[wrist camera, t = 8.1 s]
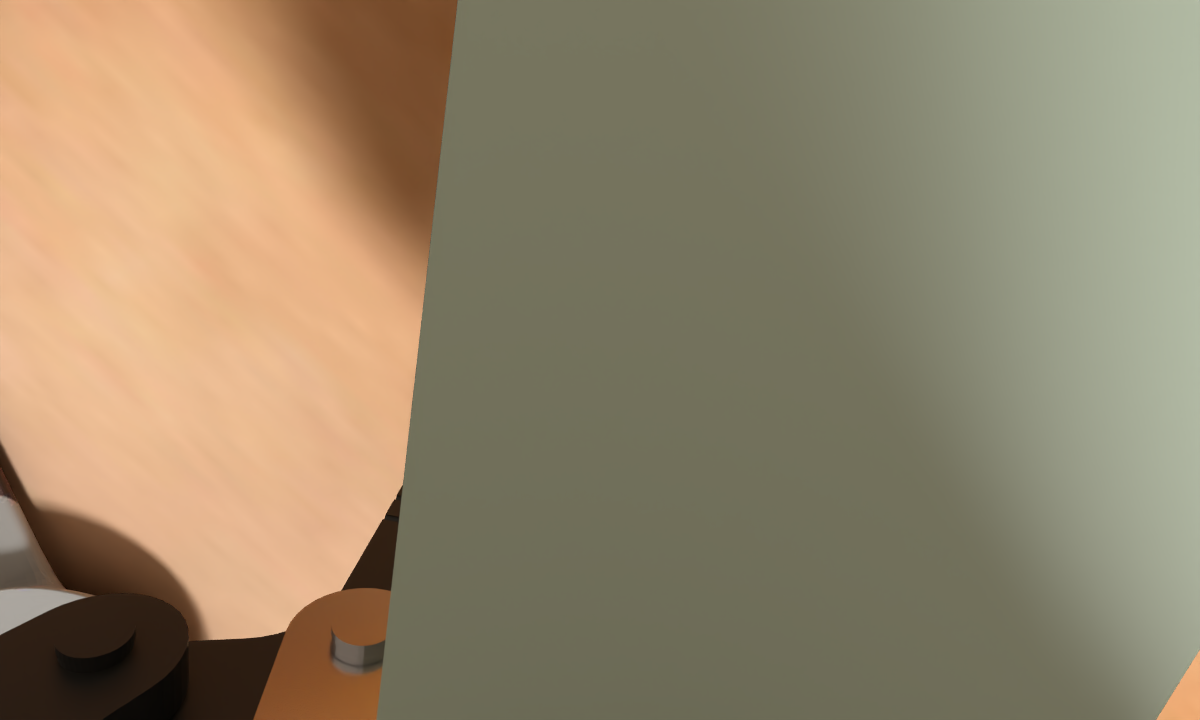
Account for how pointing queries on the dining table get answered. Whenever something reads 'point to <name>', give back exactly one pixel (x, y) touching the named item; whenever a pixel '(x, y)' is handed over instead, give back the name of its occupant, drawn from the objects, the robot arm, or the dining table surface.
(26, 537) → the spoon
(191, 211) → the dining table surface
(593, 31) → the door
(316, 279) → the dining table surface
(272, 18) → the dining table surface
